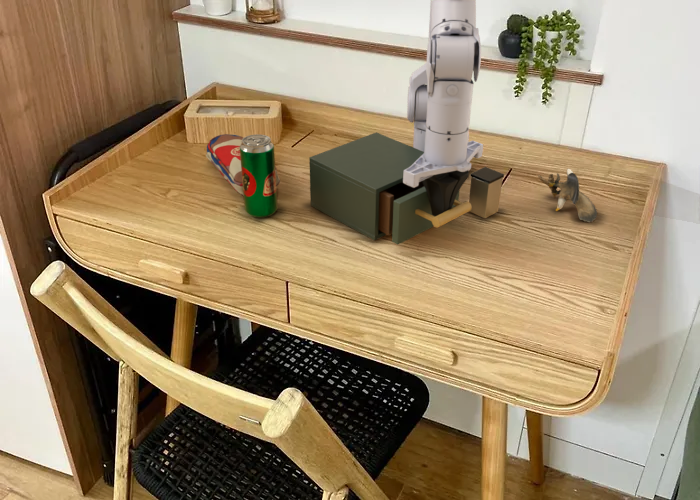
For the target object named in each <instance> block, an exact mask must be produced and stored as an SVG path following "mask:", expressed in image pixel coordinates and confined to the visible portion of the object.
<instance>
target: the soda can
mask: <svg viewBox="0 0 700 500" xmlns="http://www.w3.org/2000/svg"><path fill="white" fill-rule="evenodd" d="M240 159H241V170H242V182H243V194H244V196H243V204H244V210H245V213H247V214H248V216H250V217H253V218H256V219H257V218H258V219H262V218H263V219H264V218H269V217H270V216H273V215H274V214H275V213H276V211H277V210H278V193H277V187H276V172H275V167H276V155H275V145H274V143H273V142H272V138H271V137H270V136H268V135H266V134H258V133H257V134H249V135H246V136H243V139H242V144H241V145H240Z"/></svg>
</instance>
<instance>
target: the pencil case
mask: <svg viewBox="0 0 700 500" xmlns="http://www.w3.org/2000/svg"><path fill="white" fill-rule="evenodd" d="M243 138H244V136H241V135H238V134H234V133H233V134H232V133H223V134H218V135H216V136H214V137H212V138H211V139H210V140H209V141H208V142H207V145H206V154H205V157H206V159H208V161H209V162H210V163H211V164H212V165H213V166H214V167H215V168H216V170H217V171H218V172H219V173H220V175H221V176H223V177H222V178H224V179H225V180H226V181H227V182H228V183H229V185H230V186H231V187H232V188H233V189H234V191H235V192H237V193H238V194H240V195H241V196H243V197H244V194H243V182H242V170H241V159H240V145H241V144H242V139H243ZM275 172H276V188H277V187H278V186H279V185H280V182H281V179H280V177H279V174H278V169H277V167H276V166H275Z"/></svg>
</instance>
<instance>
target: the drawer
mask: <svg viewBox="0 0 700 500" xmlns="http://www.w3.org/2000/svg"><path fill="white" fill-rule="evenodd" d="M460 190H461V189H460ZM460 190H459V192H458V194H457V196H456V198H455V201H454V203H453V206H452V208H451V209H449V210H447V211H445V212H443V213H442V214H440V215H438V216H434V215H432V211H431V206H430V201H429V197H428V194H427V191H426V189H425V186H424V184H423V182H422V181H421V182H419V185H418V186H417V187H415V188H413V187H411V186H408V185H406V184H404V183H403V182H401V183H399V184H397V185H394V186H392V187H390V188H388V189H385V190H383V191H381V192H379V220H378V230H379V231H381V232H383V233H385V234H387V235H386V236H391V242H392V243H393V244H395V245H396V246H397V245H400V244H402V243H404V242H406V241H408V240H411V239H412V238H415V237H416V236H418V235H420V234H422V233H424V232H426V231H428V230H430V229H431V228H433V227H434V228H439V227H442V226H444V225H445V224H447V223H449V222H451V221H453V220H455V219H457V218H459V217H461V216H463V215H464V214H467V213H469V211H470V210H471V208H472V206H471V204H470V203H469V201H466V200H465V201H464V202H461V201H460Z"/></svg>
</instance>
